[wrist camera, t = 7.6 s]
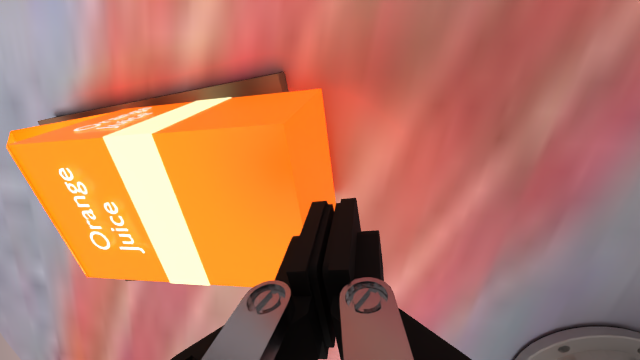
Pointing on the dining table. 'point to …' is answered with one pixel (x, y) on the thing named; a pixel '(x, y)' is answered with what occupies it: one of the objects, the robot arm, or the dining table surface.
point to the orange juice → (183, 185)
